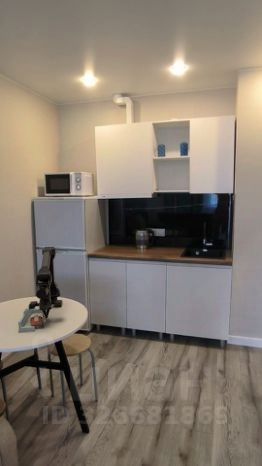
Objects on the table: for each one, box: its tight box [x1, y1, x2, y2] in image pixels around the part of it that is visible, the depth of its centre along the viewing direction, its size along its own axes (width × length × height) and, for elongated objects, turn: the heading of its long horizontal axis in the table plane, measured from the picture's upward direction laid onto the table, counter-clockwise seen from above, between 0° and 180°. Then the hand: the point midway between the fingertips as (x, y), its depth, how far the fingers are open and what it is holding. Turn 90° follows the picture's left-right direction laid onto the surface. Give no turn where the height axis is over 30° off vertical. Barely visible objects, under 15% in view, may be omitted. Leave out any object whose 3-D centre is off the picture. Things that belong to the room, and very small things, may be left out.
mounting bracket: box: [17, 304, 43, 333], centre depth 186 cm, size 26×8×7 cm, turn 5°
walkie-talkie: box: [29, 313, 47, 330], centre depth 185 cm, size 9×4×20 cm
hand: (46, 318), depth 187 cm, fingers closed
